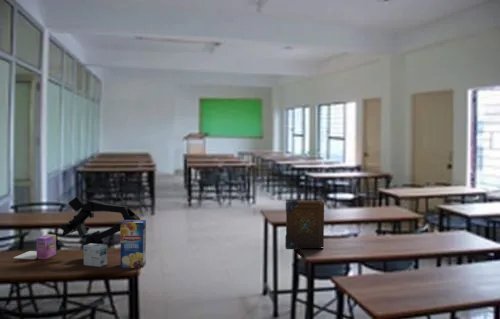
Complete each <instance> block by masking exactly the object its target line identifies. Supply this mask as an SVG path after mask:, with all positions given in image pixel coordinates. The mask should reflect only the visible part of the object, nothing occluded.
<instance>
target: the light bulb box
mask: <svg viewBox="0 0 500 319" xmlns="http://www.w3.org/2000/svg"><path fill="white" fill-rule="evenodd" d="M82 247H83V265H84V266H88V267H89V266H90V267H99V268H101V267H103V266H105V265H108V244H104V245H103V244H92V243H90V244H85V245H83V246H82Z"/></svg>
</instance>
